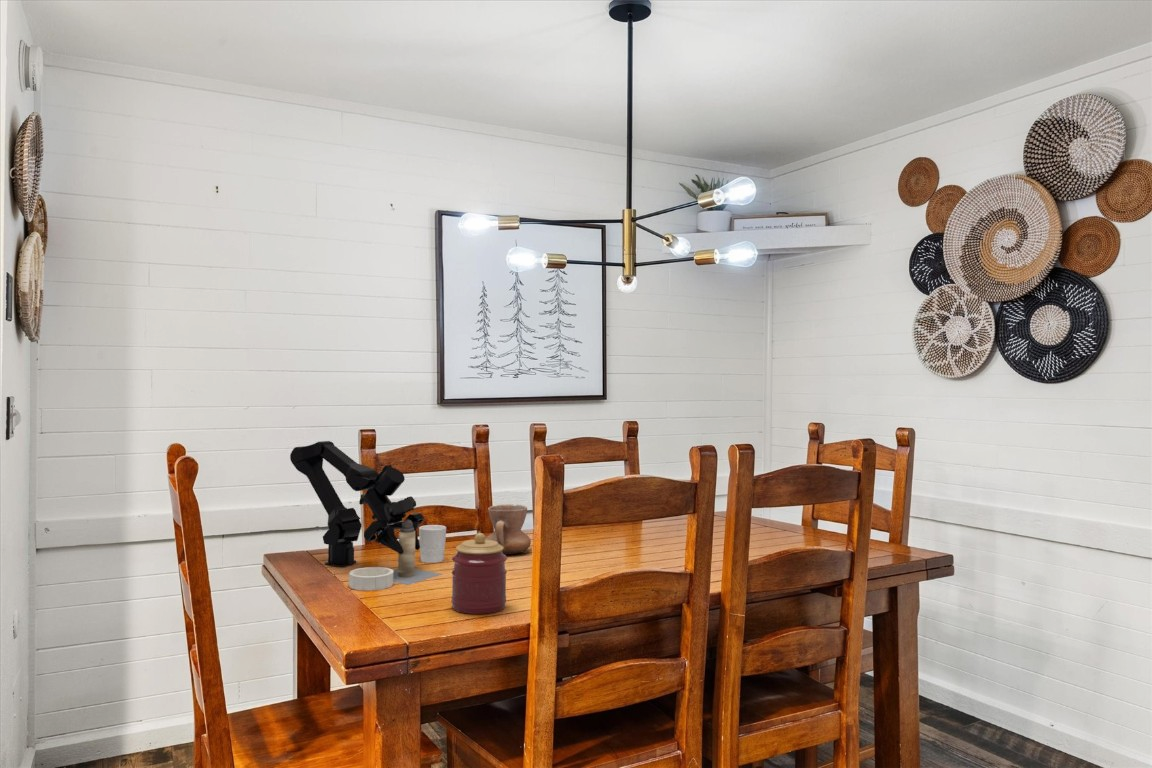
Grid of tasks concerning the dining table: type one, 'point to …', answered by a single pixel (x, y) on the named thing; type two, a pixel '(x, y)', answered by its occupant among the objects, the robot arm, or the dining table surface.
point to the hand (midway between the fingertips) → (410, 551)
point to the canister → (479, 576)
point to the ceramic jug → (509, 527)
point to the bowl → (371, 578)
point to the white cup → (432, 543)
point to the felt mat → (414, 577)
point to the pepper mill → (407, 550)
